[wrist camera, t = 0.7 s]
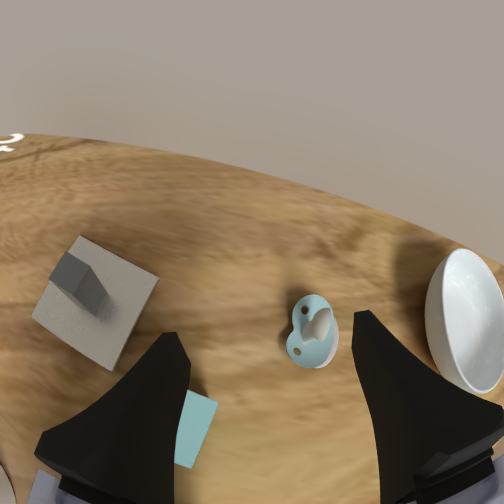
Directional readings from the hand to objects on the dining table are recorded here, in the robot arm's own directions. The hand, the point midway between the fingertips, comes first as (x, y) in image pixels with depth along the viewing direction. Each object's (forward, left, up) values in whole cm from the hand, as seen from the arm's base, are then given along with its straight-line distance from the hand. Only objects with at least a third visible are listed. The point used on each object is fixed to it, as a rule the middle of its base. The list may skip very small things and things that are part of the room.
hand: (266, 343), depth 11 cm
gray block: (0, +13, -15) cm, 20 cm away
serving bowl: (+14, -31, -15) cm, 37 cm away
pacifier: (+6, -8, -15) cm, 19 cm away
